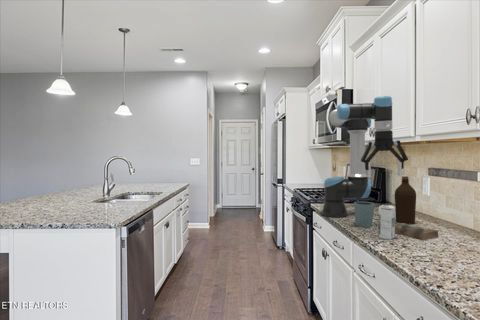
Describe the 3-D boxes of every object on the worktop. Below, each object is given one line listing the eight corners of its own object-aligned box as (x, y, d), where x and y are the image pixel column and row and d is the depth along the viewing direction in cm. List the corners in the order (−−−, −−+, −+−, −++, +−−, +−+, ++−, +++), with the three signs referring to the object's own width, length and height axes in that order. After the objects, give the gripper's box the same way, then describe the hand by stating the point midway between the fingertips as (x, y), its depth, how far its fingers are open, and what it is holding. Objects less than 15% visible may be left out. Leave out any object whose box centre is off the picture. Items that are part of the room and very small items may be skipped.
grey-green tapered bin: (356, 222, 182) (356, 200, 182) (376, 224, 177) (376, 202, 176) (352, 226, 173) (352, 203, 173) (372, 228, 168) (372, 204, 168)
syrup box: (382, 235, 154) (381, 204, 154) (395, 237, 150) (395, 205, 150) (378, 238, 149) (377, 206, 149) (392, 240, 146) (392, 207, 145)
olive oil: (413, 225, 173) (413, 177, 173) (391, 222, 180) (391, 176, 180) (418, 222, 181) (418, 176, 181) (398, 219, 188) (398, 175, 188)
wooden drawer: (388, 231, 161) (388, 221, 161) (403, 229, 166) (403, 219, 166) (422, 240, 145) (422, 229, 145) (438, 237, 149) (438, 226, 149)
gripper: (357, 131, 150) (358, 178, 151) (415, 128, 147) (416, 176, 148) (353, 132, 157) (354, 176, 159) (408, 129, 155) (409, 174, 156)
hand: (384, 176), depth 153 cm, fingers open, 13 cm apart
